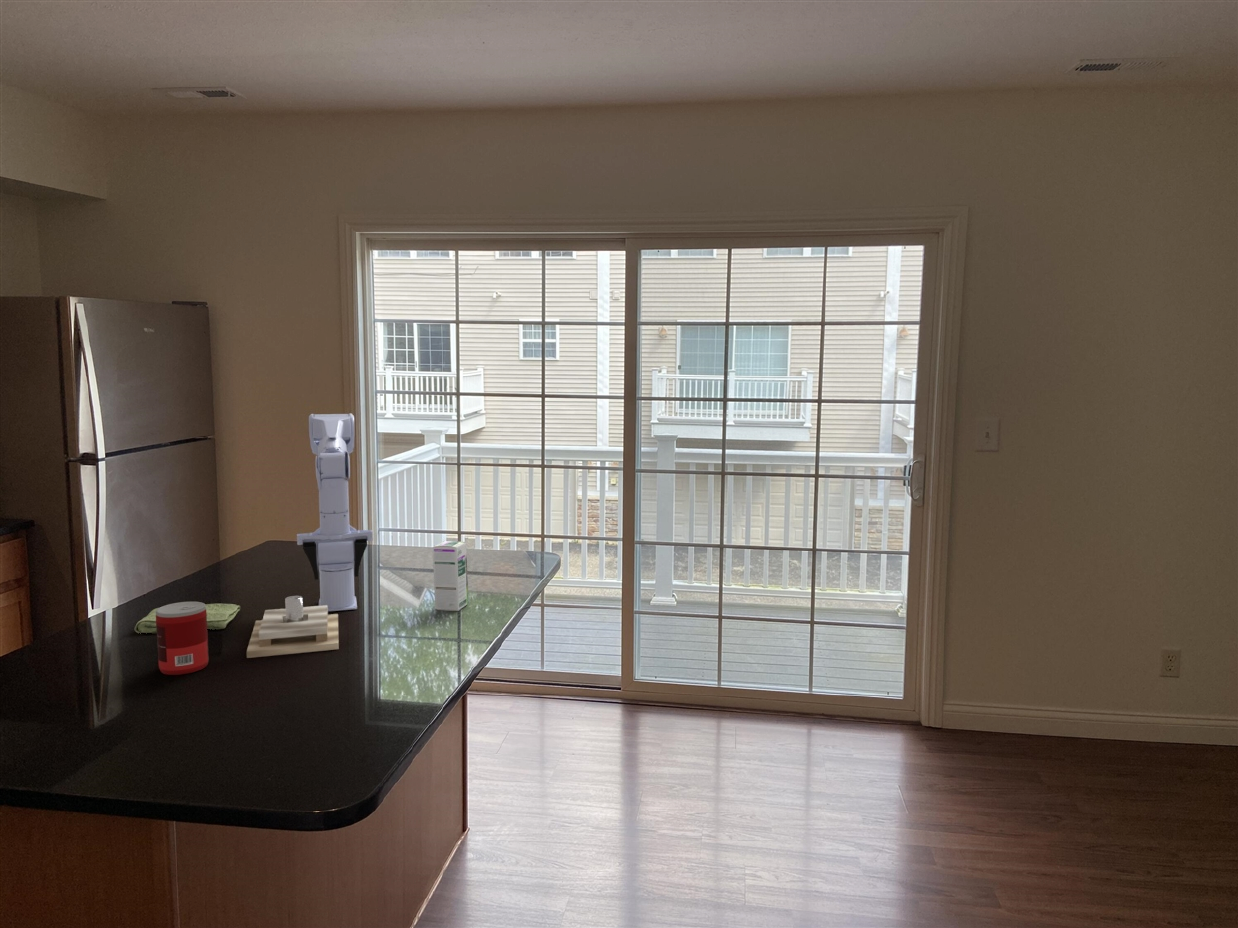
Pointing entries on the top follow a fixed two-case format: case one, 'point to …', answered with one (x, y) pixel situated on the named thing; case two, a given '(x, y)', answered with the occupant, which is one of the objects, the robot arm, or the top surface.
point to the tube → (294, 609)
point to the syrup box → (450, 575)
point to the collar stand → (294, 633)
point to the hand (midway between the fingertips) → (336, 577)
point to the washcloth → (215, 618)
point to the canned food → (182, 637)
